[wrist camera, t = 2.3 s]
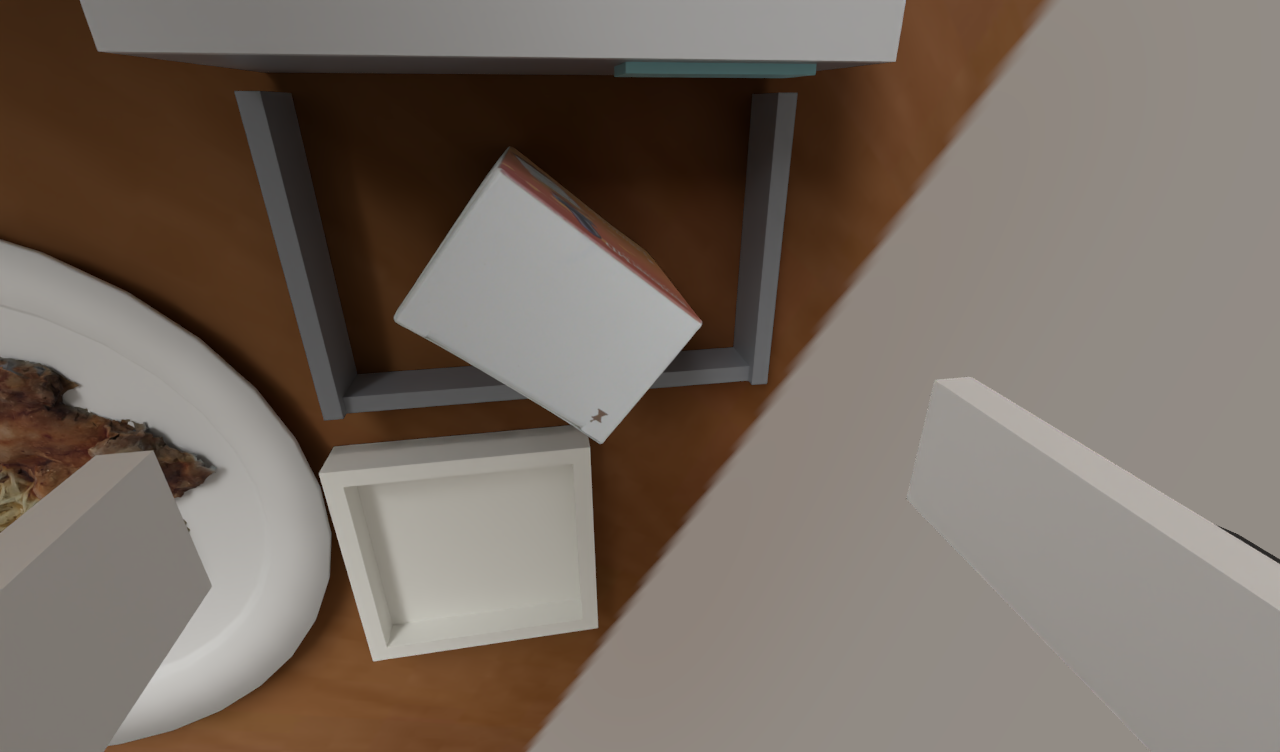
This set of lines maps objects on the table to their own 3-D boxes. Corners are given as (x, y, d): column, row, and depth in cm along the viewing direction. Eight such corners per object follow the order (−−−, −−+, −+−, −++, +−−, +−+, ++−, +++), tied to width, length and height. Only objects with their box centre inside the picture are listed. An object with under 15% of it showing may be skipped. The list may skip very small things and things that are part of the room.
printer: (343, 390, 28) (262, 516, 19) (184, -248, 18) (-121, -563, 10) (746, 359, 31) (829, 455, 23) (794, -194, 21) (971, -393, 13)
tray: (382, 626, 34) (373, 661, 32) (333, 446, 29) (318, 473, 27) (593, 597, 37) (598, 627, 34) (585, 423, 31) (590, 447, 29)
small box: (649, 252, 28) (712, 326, 18) (579, 339, 29) (605, 451, 20) (508, 139, 25) (498, 160, 15) (437, 244, 26) (387, 322, 16)
